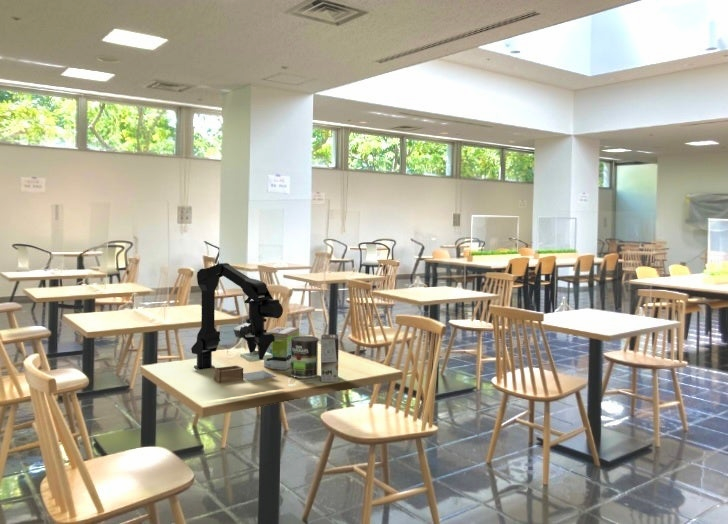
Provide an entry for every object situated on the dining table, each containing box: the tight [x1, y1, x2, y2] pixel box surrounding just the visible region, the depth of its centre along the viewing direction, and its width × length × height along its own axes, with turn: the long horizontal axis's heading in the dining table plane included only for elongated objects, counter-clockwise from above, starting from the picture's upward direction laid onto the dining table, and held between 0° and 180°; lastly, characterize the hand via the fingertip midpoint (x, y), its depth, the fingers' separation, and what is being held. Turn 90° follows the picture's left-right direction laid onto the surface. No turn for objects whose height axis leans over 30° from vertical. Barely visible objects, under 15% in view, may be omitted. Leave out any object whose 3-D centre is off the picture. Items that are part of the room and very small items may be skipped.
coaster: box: [243, 370, 277, 382], centre depth 221 cm, size 11×11×1 cm
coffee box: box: [320, 333, 340, 383], centre depth 220 cm, size 9×6×16 cm
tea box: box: [263, 326, 300, 371], centre depth 241 cm, size 15×10×15 cm, turn 168°
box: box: [213, 364, 244, 384], centre depth 215 cm, size 5×9×5 cm, turn 125°
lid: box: [239, 350, 273, 363], centre depth 221 cm, size 7×10×3 cm
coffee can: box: [290, 335, 319, 379], centre depth 226 cm, size 10×10×14 cm
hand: (256, 357), depth 221 cm, fingers closed on lid, 7 cm apart
